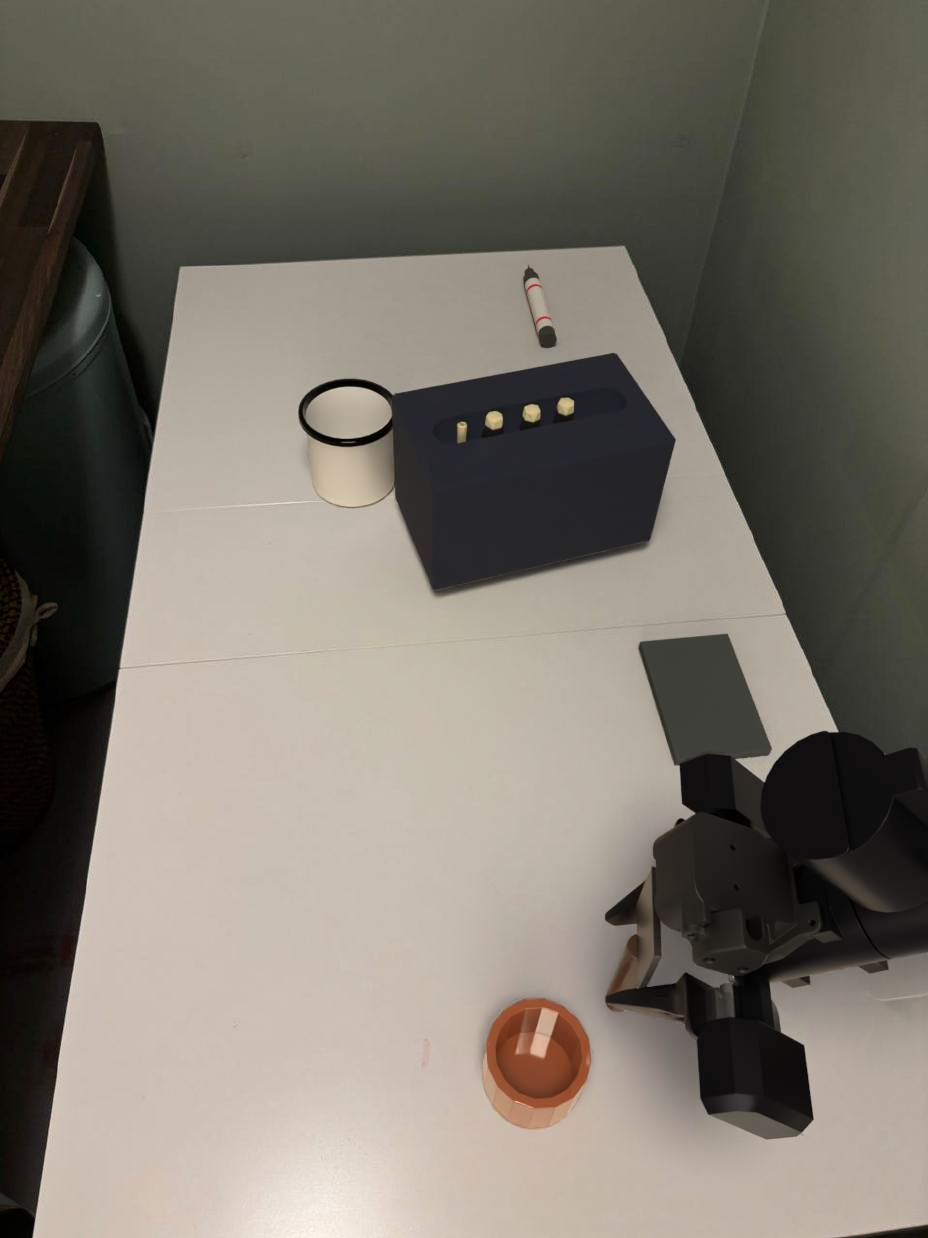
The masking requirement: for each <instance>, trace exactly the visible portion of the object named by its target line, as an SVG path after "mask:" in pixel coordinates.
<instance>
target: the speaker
mask: <svg viewBox="0 0 928 1238" xmlns="http://www.w3.org/2000/svg"><path fill="white" fill-rule="evenodd" d="M391 398H392V424H393V451H394V477H395V482H394V499H395V501H396V504H397V506H398V508H399V511H400V513H401V515H402V518H403V520H404V522H405V525H406V528H407V530H408V532H409V535H410V537H411V540H412V543H413V545H414V548H415V549H416V552H417V554H418V557H419V559H420V561H421V565H422V566H423V569H424V572H425V574H426V576H427V579H428V581H429V584H430V586H431V589H432V590H434V591H441V590H445V589H449V588H453V587H456V586H462V585H466V584H470V583H471V584H472V583H475V582H479V581H483V580H488V579H491V578H497V577H501V576H505V575H509V574H513V573H517V572H522V571H526V570H531V569H535V568H539V567H542V566H547V565H548V566H549V565H551V564H556V563H561V562H566V561H568V560H574V559H577V558H582V557H585V556H591V555H594V554H598V553H603V552H607V551H612V550H617V549H620V548H624V547H625V548H626V547H628V546H633V545H637V544H641V543H646V542H649V541H650V540H651V539H652V535H653V531H654V528H655V523H656V520H657V515H658V512H659V507H660V503H661V499H662V496H663V492H664V487H665V484H666V481H667V480H666V479H667V476H668V471H669V468H670V464H671V460H672V457H673V453H674V448H675V446H676V445H675V444H676V442H677V441H676V438H675V436H674V435H673V433H672V432H671V430H670V428H669V427H668V425H666V423H665V421H664V420H663V419H662V417H661V415H660V414H659V413H658V411H657V410H656V408H655V407H654V405H653V404H652V403H651V401H650V400H649V398H648V397H647V395H646V394H645V392H644V391H643V390H642V388H641V387H640V385H639V384H638V382H637V381H636V380H635V378H634V377H633V375H632V374H631V372H630V371H629V369H628V367H627V366H626V365H625V363H624V362H623V361H622V359H621V358H620V356H619V355H618V354H617V353H615V352H611V353H604V354H600V355H594V356H588V357H584V358H577V359H573V360H567V361H562V362H557V363H550V364H547V365H541V366H535V367H529V368H524V369H519V370H514V371H509V372H504V373H498V374H497V373H496V374H492V375H487V376H482V377H476V378H472V379H471V378H470V379H467V380H461V381H455V382H450V383H444V384H438V385H433V386H428V387H422V388H418V389H412V390H407V391H406V390H405V391H402V392H396V393H394V394H393V396H392V397H391Z"/></svg>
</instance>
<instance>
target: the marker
mask: <svg viewBox="0 0 928 1238" xmlns="http://www.w3.org/2000/svg"><path fill="white" fill-rule="evenodd" d="M522 280H523V284H524V288H525V289H524V290H525V293H526V296H527V300H528V303H529V307H530V311H531V314H532V318H533V321H534V325H535V329H536V332H537V336H538V338H539V342H540V345H541V346H542V347H544V348H552V347H553V346H555V345H556V343H557V342H558V338H557V334H556V329H555V327H554V323H553V320H552V319H553V318H552V316H551V312H550V310H549V309H550V308H549V306H548V303H547V300H546V296H545V293H544V289H543V285H542V281H541V280H540V277H539V274H538V273H537V272H536V271H535V270H534V269H533V268H532V267H530V265H529V264H528V265H527V268H526V269H525V270H524V275H523V279H522Z"/></svg>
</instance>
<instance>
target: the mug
mask: <svg viewBox="0 0 928 1238" xmlns="http://www.w3.org/2000/svg"><path fill="white" fill-rule="evenodd" d="M393 395H394V394H393V393H392V392H390V390H389V389H387V388H386V387H384V386H382V385H381V384H379V383H376V382H373V381H371V380H367V379H361V378H339V379H334V380H329V381H326V382H323V383H321V384H319V385H317V386H315V387H313V388H312V389H310V391H308V392H306V394H305V395H304V396H303V398H302V399H301V400H300V401H299V402H300V403H299V405H298V411H297V418H298V423H299V425H300V427H301V428H302V430H303V432H305V433H306V441H307V443H306V444H307V450H308V451H307V452H308V456H309V457H308V458H309V467H310V476H311V482H312V487H313V489H314V490H315V492H316V493H317V494H318V496H319V497H321V498H322V499H323V500H325V501H326V502H329V503H331V504H333V505H336V506H339V507H340V506H341V507H347V508H357V507H358V508H359V507H364V506H367V505H371V504H374V503H376V502H379V501H380V500H382V499H383V498H384V497H386V496H387V495H388V494H389V493H390V492H391V490H392V489H393V487H394V486H395V477H394V451H393V424H392V398H391V397H392V396H393Z"/></svg>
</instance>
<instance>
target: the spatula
mask: <svg viewBox="0 0 928 1238" xmlns="http://www.w3.org/2000/svg"><path fill="white" fill-rule="evenodd" d="M645 880H646V882H645V884H644V887H643V889H642V892H641V894H640V897H639V899H638V902H637V905H636V919H637V924H636V933H635V934H632V935H631V936H629V938H628V939H627V941H626V944H625V946H624V948H623V951H622V953H621V956H620V958H619V961H618V963H617V966H616V968H615V971H614V972H613V976H612V977H611V978H612V979H611V980H610V982H609V985H608V987H607V990H606V993H605V995H604V997H605V996H606V995H609V994H612V993H615V992H618V991H621V990H625V989H633V988H639V989H640V988H644V987H648V986H649V984H650V982H651V980H652V978H653V976H654V974H655V972H656V970H657V968H658V966H659V964H660V962H661V959H662V958H663V948H662V947H663V946H662V945H663V943H662V942H663V941H662V922H661V920H660V919H659V917H658V915H657V912H656V909H655V894H656V892H657V885H656V866H651V867H650V869H649V871H648V874H647V877H646V878H645ZM604 1003H605V1005H606V1007H607V1009H609V1010H610V1011H611V1012H613V1013H618V1014H619V1013H623V1012H625V1011H626V1010H622V1009H618V1008H615V1007H612V1006H610V1005H608V1004H606V1002H605V1001H604Z"/></svg>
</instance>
